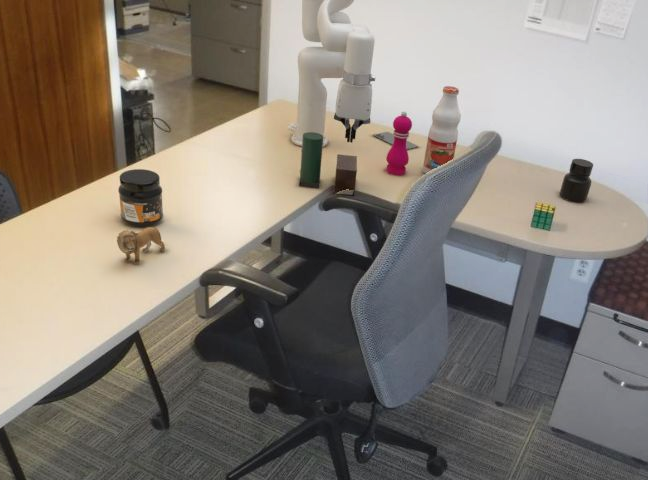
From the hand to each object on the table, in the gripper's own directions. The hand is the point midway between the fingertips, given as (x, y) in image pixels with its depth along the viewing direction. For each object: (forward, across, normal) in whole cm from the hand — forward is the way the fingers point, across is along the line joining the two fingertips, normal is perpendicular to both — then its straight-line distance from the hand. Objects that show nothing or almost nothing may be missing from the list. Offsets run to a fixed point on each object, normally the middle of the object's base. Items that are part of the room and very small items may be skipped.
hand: (349, 140), depth 212 cm
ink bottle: (+14, -75, -11) cm, 77 cm away
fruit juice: (+15, -30, -19) cm, 39 cm away
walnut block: (+15, 0, +1) cm, 15 cm away
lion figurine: (+14, +47, +56) cm, 74 cm away
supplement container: (+14, +52, +36) cm, 65 cm away
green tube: (+14, +7, +1) cm, 16 cm away
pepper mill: (+15, -16, -16) cm, 28 cm away
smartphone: (+15, -18, -46) cm, 51 cm away
